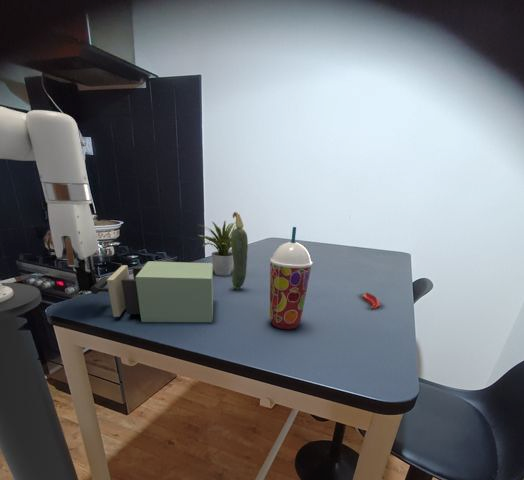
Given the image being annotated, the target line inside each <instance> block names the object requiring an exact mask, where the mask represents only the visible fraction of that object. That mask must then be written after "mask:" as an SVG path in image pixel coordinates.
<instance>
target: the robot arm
mask: <svg viewBox="0 0 524 480" xmlns="http://www.w3.org/2000/svg"><path fill="white" fill-rule="evenodd" d="M0 160H11V161H21V162H24V161H25V162H34V161H35V163H36V167H37V170H38V171H37V172H38V174H39V179H40V182H41V186H42V187H41V188H42V190H43V195H44V199H45V203H46V204H47V215H48V216H47V217H48V223H49V228H50V233H51V234H50V235H51V240H52V244H53V249H54V252H55V256H56V258H57V259H59V260H64V259H66V260H67V266H68V267H69V268H72V270H73V272H74V273H75V278H76V282H77V287H78V290H79V291H80V292H91V291H90V288H91V287H92V286H93V285H94V284H96V283H97V282H98V281H97V277H96V272H95V263H94V257H95V253H96V252H97V251H98V250H99V241H98V236H97V231H96V225H95V221H94V217H93V214H92V210H91V207H90V205H91V204H93V200H92V195H91V190H90V189H91V188H90V185H89V180H88V174H87V169H86V162H85V158H84V153H83V148H82V142H81V137H80V132H79V127H78V123H77V122H76V119H74V118H73V117H72V116H70V115H69V114H67V113H63V112H59V111H53V110H44V109H33V110H29V111H28V112H27V113H26V112H22V111H18V110H15V109H12V108H7V107H5V106H1V105H0ZM1 283H2V280H0V302H3V301H6V300H8V299H10V298H11V297H12V296H13V295H14V293H13V290H12V289H11V288H10V287H7V286H2V284H1Z"/></svg>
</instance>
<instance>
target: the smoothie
mask: <svg viewBox="0 0 524 480" xmlns="http://www.w3.org/2000/svg"><path fill="white" fill-rule="evenodd" d="M291 230H292V232H291V241H288V242H285V243H283V244H280V246H278V247H277V248H276V250H275V251H274V252H273V255H272V256H271V257H270V259H269V263H270V265H269V278H270V279H269V320H270V321H271V324H272V325H273V326H274V327H276V328H278V329H281V330H292V329H295V328H297V327H298V326H299V323H301V321H302V318H303V312H304V306H305V300H306V296H307V291H308V285H309V280H310V275H311V269H312V266H313V261H311V256H310V253H309V251H308V250H307V248H306V247H304V245H302V244H301V243H299V242H297V241H296V236H297V235H296V234H297V227H296V226H293V227H292V229H291Z"/></svg>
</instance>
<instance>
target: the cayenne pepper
mask: <svg viewBox="0 0 524 480" xmlns="http://www.w3.org/2000/svg"><path fill="white" fill-rule="evenodd" d="M362 299H363V300H364V301H365V302H367V303H369V304H370V305H371V307H370V310H375V309H379V308H380V307H381V302H380V300H378V298H377V297H376V296H375V295H373V294H370V293H369V292H365V294H364V293H363V294H362Z"/></svg>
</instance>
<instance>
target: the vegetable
mask: <svg viewBox="0 0 524 480" xmlns="http://www.w3.org/2000/svg"><path fill="white" fill-rule="evenodd" d="M234 218H235V225H236V226H235V225H234V227H235V229H234V230H233V229H232V230H233V232H232V231H231V232H232V234H231V233H230V234H231V237H230V238H231V242H230V243H231V248H230V249H231V253H232V255H233V267H232V279H231V282H232V286H233V288H234V289H235V290H237V291H238V290H239V289H240V288H241V287H243V285H244V283H245V280H246V276H247V266H248V248H249V244H248V243H249V241H248V239H249V238H248V234H247V232H246V230H245V229H244V223H243V220H242V217H241V214H239V213H238V212H236V211H234V212H233V213H232V219H234Z"/></svg>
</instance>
